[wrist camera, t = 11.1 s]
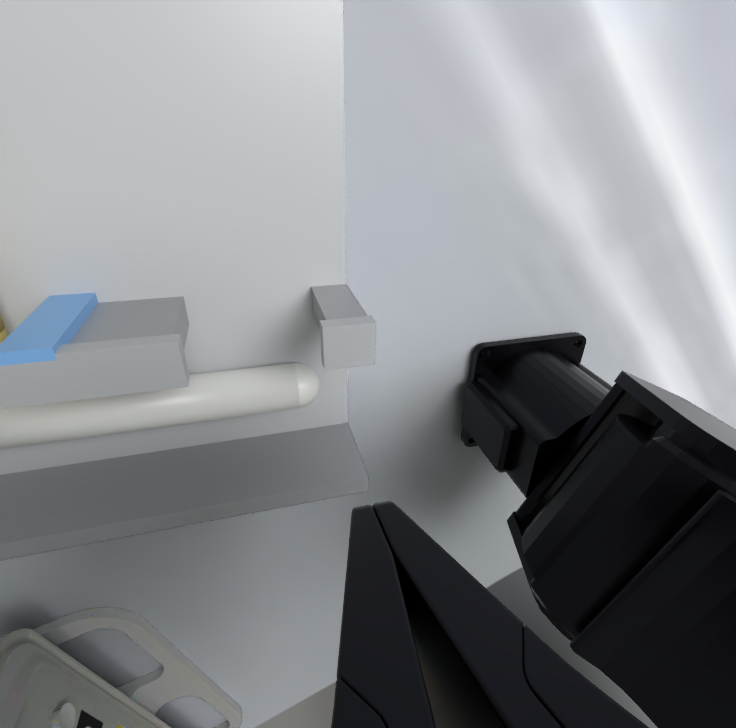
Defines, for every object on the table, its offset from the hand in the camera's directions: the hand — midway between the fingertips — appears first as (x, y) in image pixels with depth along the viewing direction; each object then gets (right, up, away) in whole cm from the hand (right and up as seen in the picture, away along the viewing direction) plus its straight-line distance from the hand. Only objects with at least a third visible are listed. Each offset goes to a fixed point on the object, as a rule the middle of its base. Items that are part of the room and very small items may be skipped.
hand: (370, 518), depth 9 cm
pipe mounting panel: (-10, +7, +7) cm, 14 cm away
